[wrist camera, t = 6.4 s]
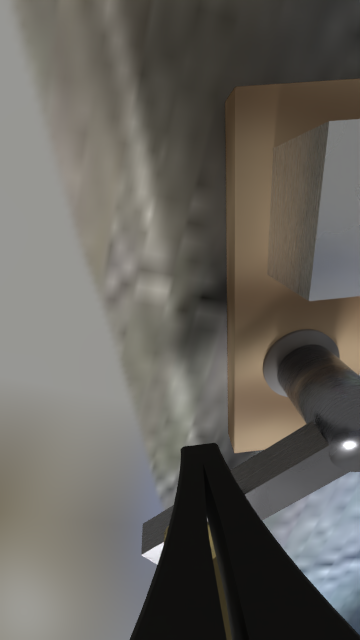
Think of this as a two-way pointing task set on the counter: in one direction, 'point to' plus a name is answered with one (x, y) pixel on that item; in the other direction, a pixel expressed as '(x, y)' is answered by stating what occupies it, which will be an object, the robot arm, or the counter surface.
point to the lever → (295, 441)
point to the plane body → (252, 259)
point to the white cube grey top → (317, 212)
